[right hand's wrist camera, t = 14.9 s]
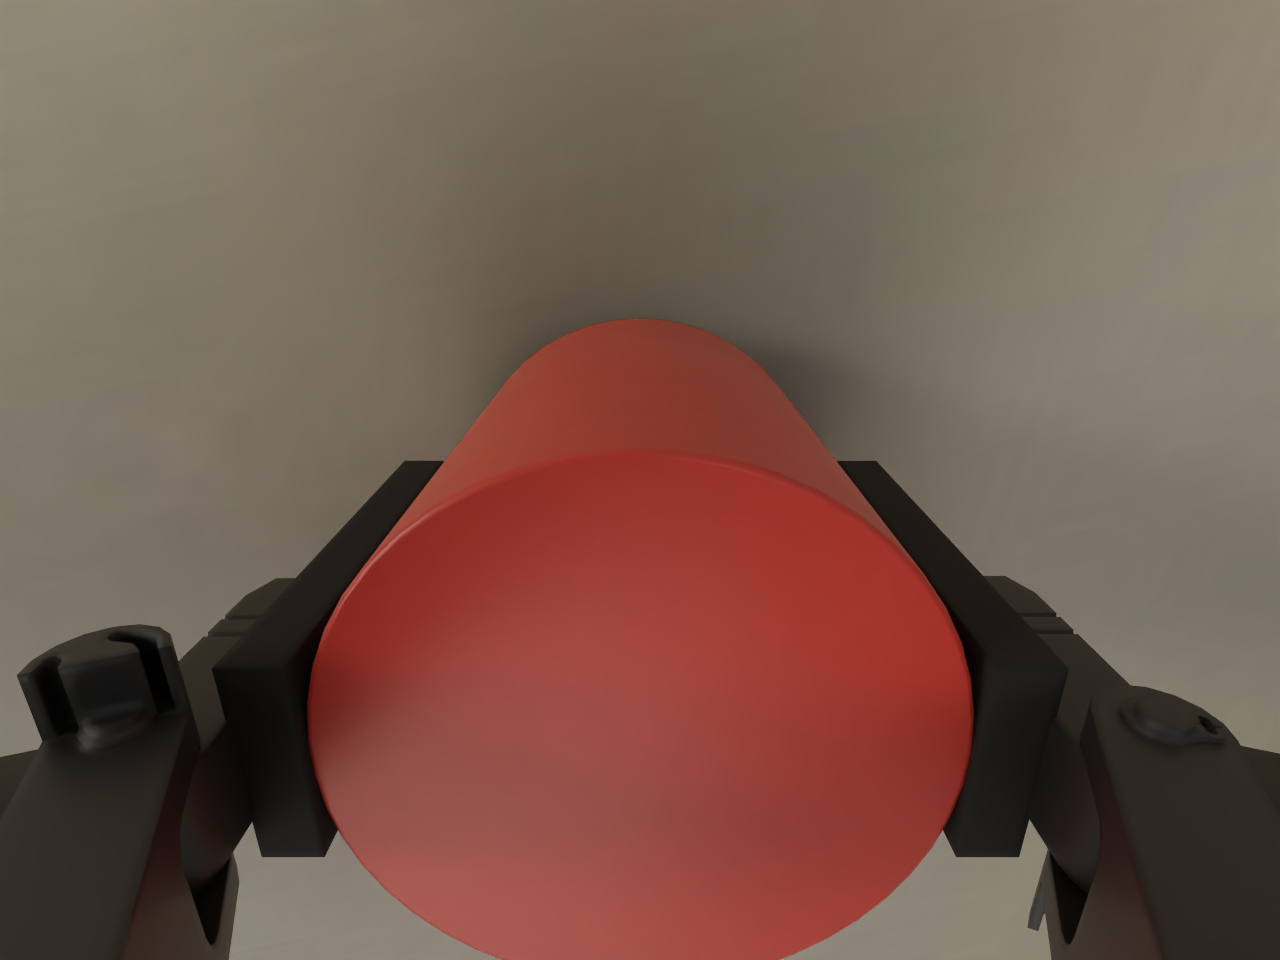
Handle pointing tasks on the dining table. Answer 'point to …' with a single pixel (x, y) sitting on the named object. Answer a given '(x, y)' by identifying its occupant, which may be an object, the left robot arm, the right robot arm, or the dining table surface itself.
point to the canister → (640, 672)
